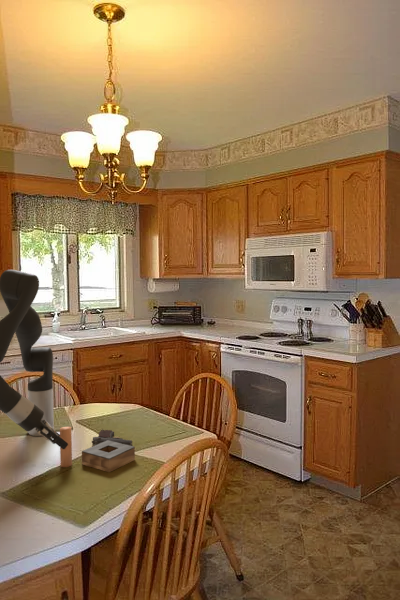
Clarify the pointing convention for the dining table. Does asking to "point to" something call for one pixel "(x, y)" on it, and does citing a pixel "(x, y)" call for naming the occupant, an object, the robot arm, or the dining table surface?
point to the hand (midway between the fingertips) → (62, 442)
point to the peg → (67, 452)
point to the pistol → (109, 438)
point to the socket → (108, 455)
